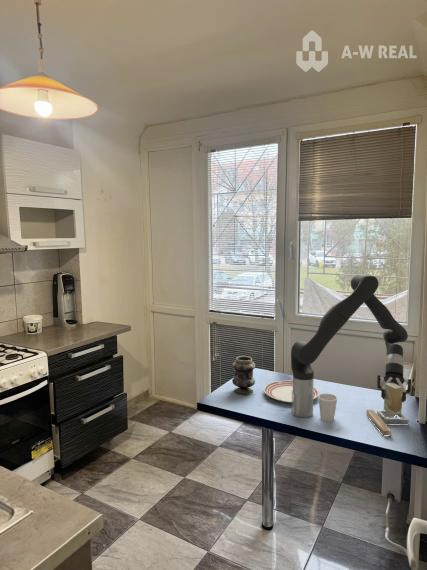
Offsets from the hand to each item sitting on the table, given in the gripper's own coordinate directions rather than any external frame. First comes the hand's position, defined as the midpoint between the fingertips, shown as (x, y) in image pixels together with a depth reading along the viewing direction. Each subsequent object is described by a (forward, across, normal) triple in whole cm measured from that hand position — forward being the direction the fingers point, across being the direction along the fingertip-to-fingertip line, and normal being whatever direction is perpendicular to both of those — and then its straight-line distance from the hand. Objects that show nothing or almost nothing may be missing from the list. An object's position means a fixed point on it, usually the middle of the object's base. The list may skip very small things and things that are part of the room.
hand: (393, 400), depth 170 cm
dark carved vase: (+2, -71, +12) cm, 72 cm away
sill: (+11, -6, +2) cm, 13 cm away
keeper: (+6, 0, +8) cm, 10 cm away
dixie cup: (+13, -26, +1) cm, 29 cm away
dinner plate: (-1, -47, +15) cm, 50 cm away
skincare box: (+3, 0, +6) cm, 6 cm away
